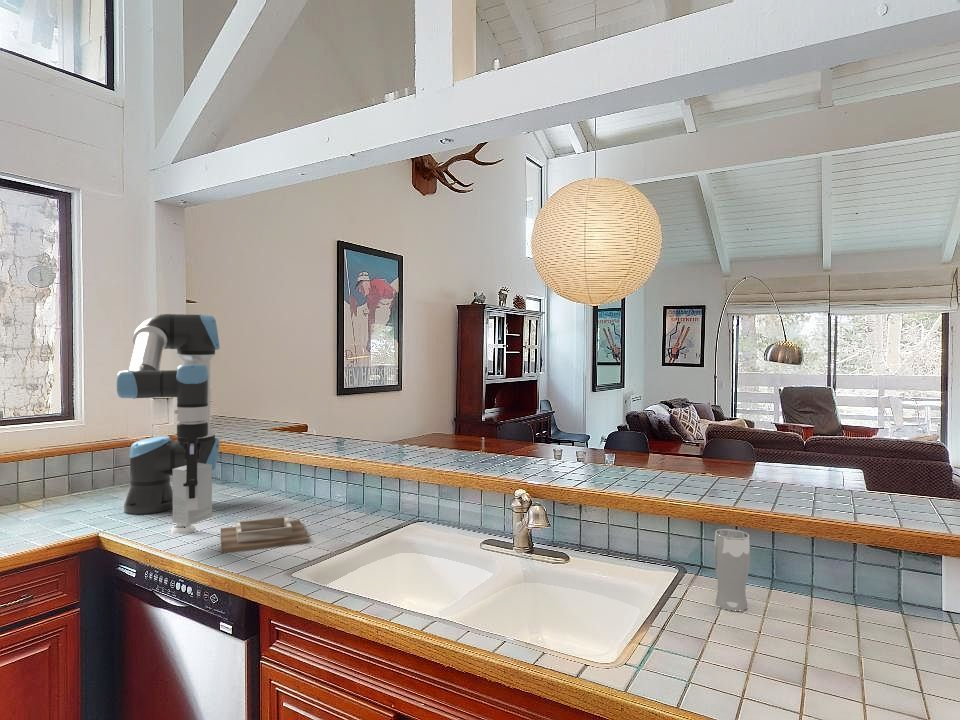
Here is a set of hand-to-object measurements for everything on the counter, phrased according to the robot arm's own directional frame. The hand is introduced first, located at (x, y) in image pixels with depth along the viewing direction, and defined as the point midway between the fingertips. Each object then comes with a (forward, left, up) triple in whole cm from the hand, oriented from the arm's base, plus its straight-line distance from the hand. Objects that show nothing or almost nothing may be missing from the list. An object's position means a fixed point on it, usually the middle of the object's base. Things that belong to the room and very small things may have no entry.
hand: (192, 505), depth 159 cm
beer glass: (+86, +103, -11) cm, 135 cm away
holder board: (-1, +18, -11) cm, 21 cm away
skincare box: (0, 0, -4) cm, 4 cm away
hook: (-17, -3, -11) cm, 20 cm away
